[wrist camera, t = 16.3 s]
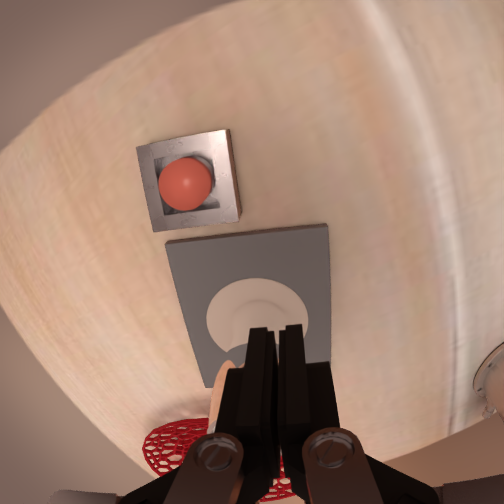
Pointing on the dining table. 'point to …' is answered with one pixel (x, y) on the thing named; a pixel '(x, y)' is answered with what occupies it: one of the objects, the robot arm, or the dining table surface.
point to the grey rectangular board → (253, 286)
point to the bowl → (182, 450)
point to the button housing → (220, 199)
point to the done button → (186, 182)
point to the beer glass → (244, 344)
